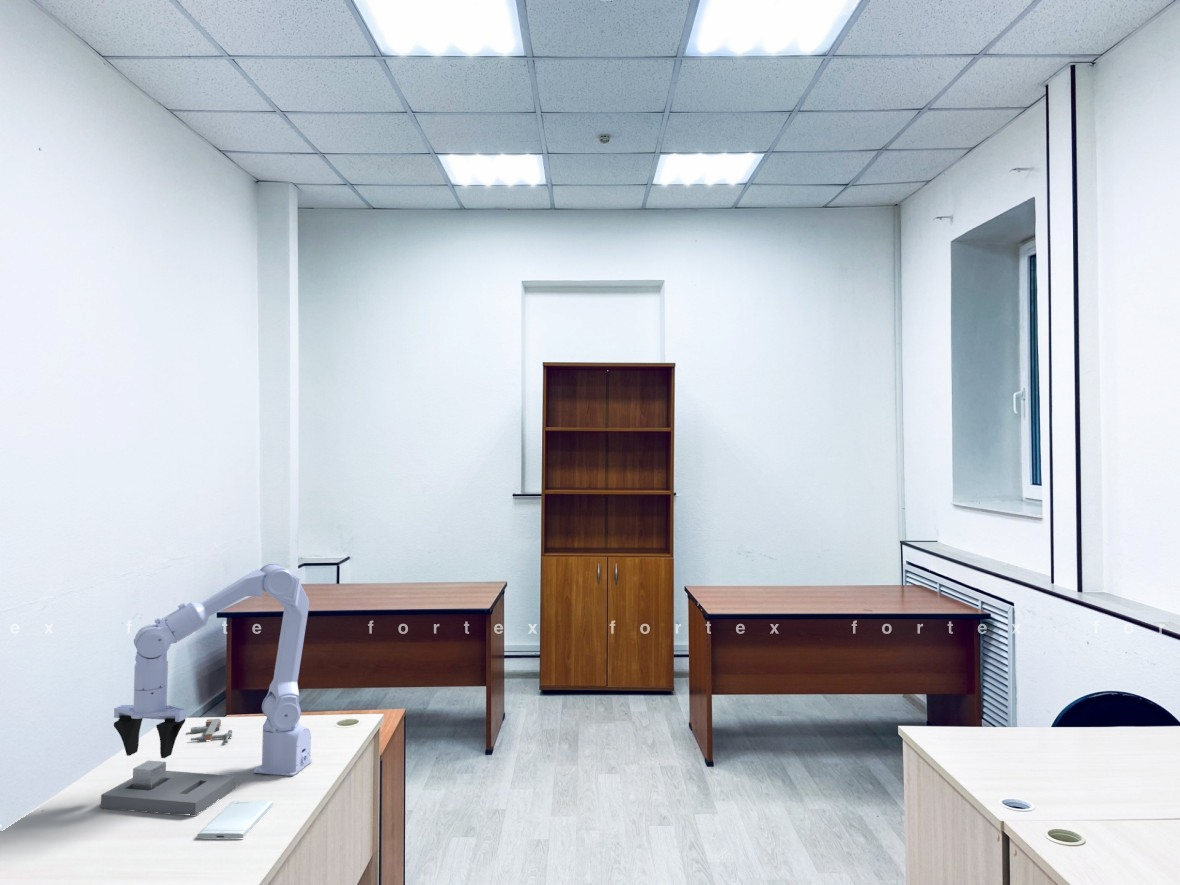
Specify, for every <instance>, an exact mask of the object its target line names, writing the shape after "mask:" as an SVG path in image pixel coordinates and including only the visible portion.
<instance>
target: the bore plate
mask: <svg viewBox="0 0 1180 885" xmlns="http://www.w3.org/2000/svg"><path fill="white" fill-rule="evenodd" d="M236 783H237V776H236V775H228V774H226V775H225V774H215V773H213V774H212V773H200V772H188V771H176V770H175V771H174V770H166V782H164V783H162V784H160V785H159V786H157V787H155V788H154V789H152V790H150V791H149V790H137V789H133V777H132V778H130V779H128V780H126V781H124V782H122V783H120V784H118V785H117V786H115V787H113V788H111V789H109V790H107V791H106V792H104V793H102V794H101V795H100V809H105V808H111V809H110V810H117V809H119V811H128V810H135V811H134V812H140V811H147V812H146V813H151V812H158V813H157V814H162V813H170V814H169V815H174V814H190V815H197V814H198V813H199V812H201V811H202V812H204V811H205V810H207V809H208V808H209V806H210V805H211V804H213V803H214V804H215V803H217V802H218V801H219V800H218V799H220V798H221V799H223V798H224V797H226V796H227V795H228V794H230V793H231V792H233V791H234V790H235V789H234V788H236V786H237V784H236ZM233 789H234V790H233ZM232 790H233V791H232ZM230 791H231V792H230ZM229 792H230V793H229ZM227 793H228V794H227ZM226 794H227V795H226ZM223 796H224V797H223ZM222 797H223V798H222ZM221 799H220V800H221ZM217 800H218V801H217ZM216 801H217V802H216ZM214 804H213V805H214ZM211 806H212V805H211ZM211 806H210V807H211ZM207 807H208V808H207ZM206 808H207V809H206ZM204 809H205V810H204ZM203 810H204V811H203ZM202 812H201V813H202ZM198 815H199V814H198ZM198 815H197V816H198Z"/></svg>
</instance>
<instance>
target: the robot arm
mask: <svg viewBox="0 0 1180 885" xmlns="http://www.w3.org/2000/svg"><path fill="white" fill-rule="evenodd" d="M264 592H266V594H268V595H269V596H270V597H272V598H274V599H276V601H277V602H278V603H279V604H280V605H281V606H282V607H283V615H282V622H281V627H280V628H281V629H280V635H279V638H278V640H279V641H278V647H277V648H278V649H277V653H276V654H277V655H276V659H275V664H274V665H275V666H274V672H273V673H274V674H273V679H272V681H271V683H269V688H268V692H267V695H266V696H265V698H264V699H263V700H262V704H261V710H262V713H263V715H264V716H265V717H266V719H265V721H264V723H263V726H262V743H261V744H262V746H261V747H262V749H261V752H262V753H261V764H260V765H259V766H258V767H256V768H254V769H253V770H252V773H253V774H265V775H277V776H289V777H291V776H292V777H293V776H295V775H296V774H298V773H299V772H300V771H302V770H303V769H304V768H306V767H307V766H308V765H309V764H310V763H312V762H313V759H311V749H312V748H311V746H312V744H311V743H312V735H311V730H310V728H308V727H304V726H302V725H300V724H299V723H300V722H299V721H300V718H301V715H302V709H301V707H300V704H299V699H300V698H299V697H300V692H299V685H298V680H299V673H300V667H301V660H302V656H303V655H302V654H303V648H304V647H303V646H304V641H305V633H306V628H307V627H306V626H307V620H308V616H309V615H308V614H309V608H310V600H309V598H308V595H307V594H306V591H305V590H304V587H303V585H302V584H301V581H300V578H299V577H298V576H297V575H296V574H295V573H293V571H291V570H290V569H288V568H286V567H283V566H282V565H281V564H278V563H275V562H274V563H267V564H266V565H264V566H262V567H260V569H259V568H257V569H255V570H252V571H250V572H249V573H247V574H245V575H244V576H242V577H241V578H239V579H237V580H236V581H234V582H233V583H230V585H227V587H225V588H223V589H221V590H220V591H218V592H217V593H215V594H214V595H212V596H210V597H209V598H207V599H206V600H204V601H202V602H194V601H191V602H188V603H187V604H186V603H185V602H183V603H181V604H179V605H178V606H177V608H178V609H176V610H175V611H172V612H171V613H169V614H167V615H166V616H164V617H162V618H160V617H157V618H156V619H154V620H153V621H154V623H153V624H147V625H144V626H143V627H141V628H140V629H139V630H138V631H137V632H136V634H135V636H134V639H133V644H134V646H135V648H136V654H135V657H134V658H135V659H134V660H135V664H134V676H133V678H134V679H133V685H134V686H133V704H121V705H118V706H116V707H114V708H113V711H114V712H113V718H116V719H118V720H117V721H115V722H113V727H114V728H115V730H116V731H117V733H118V734H119V736H120V738H121V740H122V744H123V746H124V750H125V754H126V756H127V757H128V756H129V757H130V756H132V755H134V754H136V753H138V750H139V743H140V742H139V741H140V731H141V726H142V722H143V719H151V720H164V721H162V722H160V723H158V724H156V728H155V729H156V730H157V733H158V737H159V743H160V746H159V748H160V749H159V750H160V752H159V753H160V754H159V755H160V759H166V758H168V757H170V756H172V753H173V750H174V747H175V743H176V739H177V737H178V735H179V733H180V731H181V729H182V727H183V725H184V724H185V722H186V719H187V708H180V707H177V706H174V705H169V704H168V672H169V669H168V668H169V661H168V655H167V652H168V650H169V649H170V647H171V645H172V644H177V643H178V642H180V641H181V640H183V639H185V638H187V637H188V636H190V635H192V634H194V633H195V632H196V631H198V630H200V629H202V628H203V627H206V626H207V622H208V620H209V618H210V616H212V615H215V614H216V613H218V612H220V611H222V610H224V609H226V608H227V607H230V606H231V605H233V604H235V603H237V602H239V601H240V600H242V599H244V598H246V597H264Z"/></svg>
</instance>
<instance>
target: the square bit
mask: <svg viewBox="0 0 1180 885" xmlns="http://www.w3.org/2000/svg"><path fill="white" fill-rule="evenodd" d="M166 771H167V762H166V761H161V760H159V761H158V760H146V761H144V762H142V763H141V764H139V765H138V766H135V767H133V769H132V778H133V789H137V790H149V791H150V790H152V789H154V788H155V787H157V786H159V785H160V784H162V783H164V782H166Z"/></svg>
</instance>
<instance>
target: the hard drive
mask: <svg viewBox="0 0 1180 885" xmlns="http://www.w3.org/2000/svg"><path fill="white" fill-rule="evenodd" d="M272 808H274V801H271V800H266V801H265V800H262V801H261V800H259V801H258V800H252V801H251V800H248V801H247V800H246V801H245V800H244V801H242V800H241V801H240V800H239V801H237V800H236V801H235V800H233V801H231V802H230V803H229V804H228V805H227V806H225V808H223V810H221V811H220V812H219V813H218V814H217V815H216V816H215V817H214V818H212V819H211V820H210V822H209V823H207V824H206V825H205V827H203V828H202V829H201V830H200V831H199V832H198V833H197V834H196V839H197V838H244V837H245V836H246V835H247V833H248V832H249V831H250V830H251V829H252V828H253V827H254V826H255V825H256V824H257V823H258V822H259V821H261V820H262V819H263V818H264V817H265V816H266V815H267V814H268V813H269V812H270V811H271V809H272ZM269 810H270V811H269ZM268 811H269V812H268ZM267 812H268V813H267ZM266 813H267V814H266ZM265 814H266V815H265ZM264 815H265V816H264ZM263 816H264V817H263ZM262 817H263V818H262ZM261 818H262V819H261ZM259 823H260V822H259ZM259 823H258V824H259ZM258 824H257V825H258ZM257 825H256V826H257ZM256 826H255V827H256ZM255 827H254V828H255ZM254 828H253V829H254ZM253 829H252V830H253ZM252 830H251V831H252ZM251 831H250V832H251ZM250 832H249V833H250ZM247 836H248V835H247ZM247 836H246V837H247ZM246 837H245V838H246ZM245 838H244V839H245Z"/></svg>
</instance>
